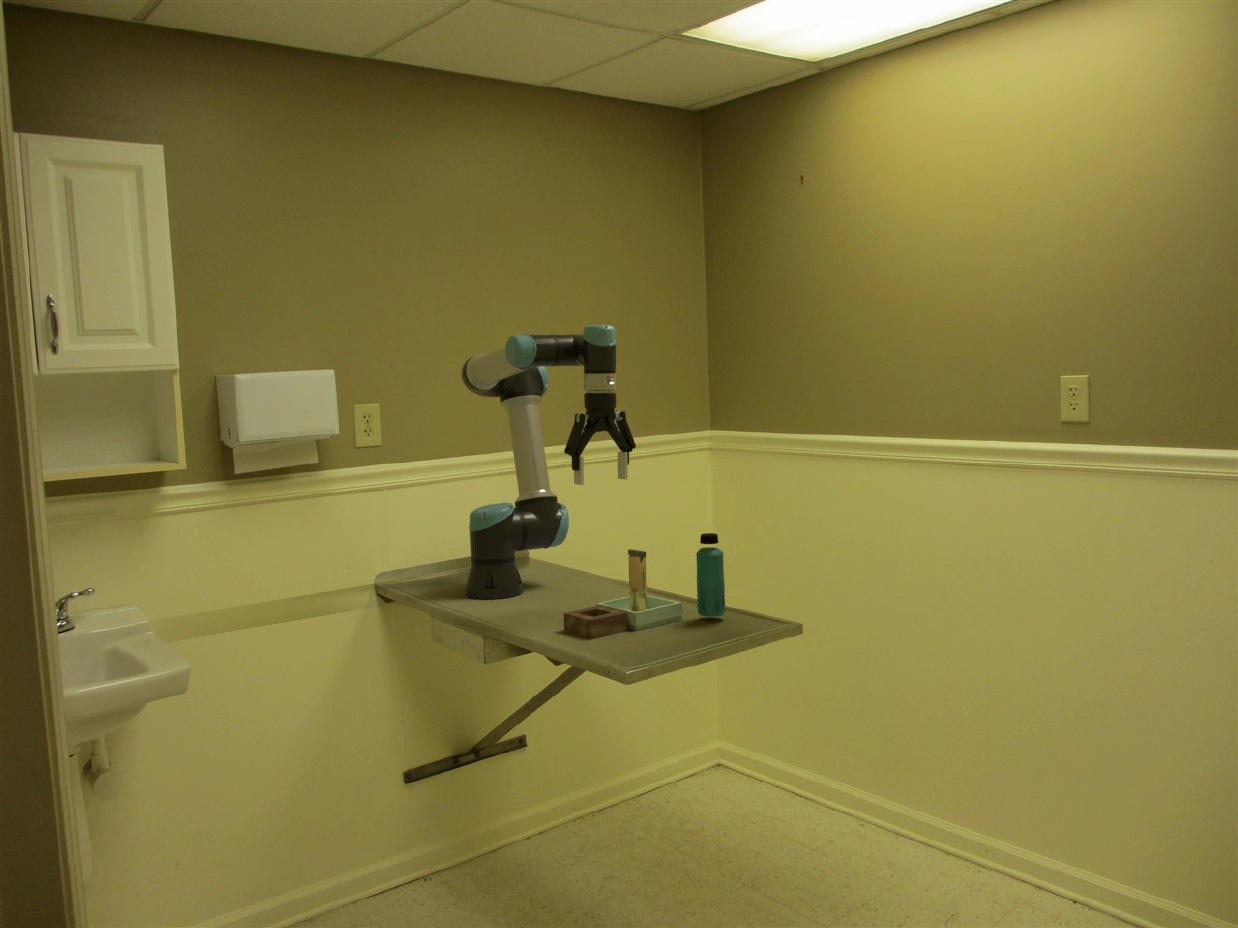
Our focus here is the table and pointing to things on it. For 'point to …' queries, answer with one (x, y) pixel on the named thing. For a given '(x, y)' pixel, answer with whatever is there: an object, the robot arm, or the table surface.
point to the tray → (647, 612)
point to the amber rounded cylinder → (637, 580)
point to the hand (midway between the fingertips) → (601, 481)
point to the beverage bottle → (710, 578)
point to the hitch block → (595, 621)
